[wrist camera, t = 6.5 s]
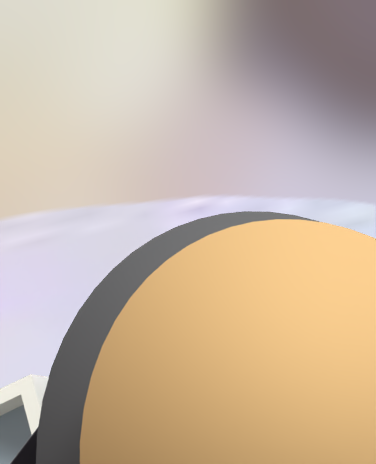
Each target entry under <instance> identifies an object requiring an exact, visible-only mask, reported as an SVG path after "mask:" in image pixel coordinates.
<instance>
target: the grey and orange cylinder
mask: <svg viewBox="0 0 376 464" xmlns="http://www.w3.org/2000/svg"><path fill="white" fill-rule="evenodd" d="M36 464H376V239H375V238H373V237H370V236H367V235H365V234H362V233H359V232H356V231H354V230H351V229H348V228H344V227H340V226H336V225H332V224H328V223H323V222H319V221H315V220H311V219H307V218H303V217H299V216H295V215H289V214H281V213H274V212H236V213H226V214H219V215H215V216H210V217H206V218H201V219H197V220H195V221H192V222H189V223H186V224H183V225H181V226H178V227H175V228H173V229H171V230H169V231H167V232H165V233H163V234H161V235H159V236H157V237H155V238H153V239H152V240H150V241H149V242H147V243H146V244H144V245H143V246H141V247H140V248H138V249H137V250H135V251H134V252H132V253H131V254H130V255H129V256H128V257H126V258H125V259H124V260H123V261H122V262H121V263H119V264H118V265H117V266H116V267H115V268H114V269H113V270H112V271H111V272H110V273H109V274H108V275H107V276H106V277H105V278H104V279H103V280H102V282H101V283H100V284H99V285H98V286H97V287H96V288H95V289H94V291H93V292H92V293H91V295H90V296H89V298H88V299H87V300H86V302H85V303H84V304H83V306H82V307H81V309H80V310H79V311H78V313H77V315H76V317H75V318H74V320H73V322H72V324H71V326H70V328H69V329H68V331H67V333H66V335H65V337H64V338H63V341H62V343H61V346H60V348H59V351H58V353H57V356H56V358H55V360H54V363H53V365H52V368H51V371H50V375H49V379H48V382H47V386H46V389H45V393H44V396H43V400H42V407H41V413H40V419H39V426H38V432H37V448H36Z"/></svg>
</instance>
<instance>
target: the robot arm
mask: <svg viewBox="0 0 376 464" xmlns="http://www.w3.org/2000/svg"><path fill="white" fill-rule="evenodd" d="M37 432H38V428H37V429H36V430H35V432H34V433H33V434H32V435H31V437H30V438H29V439H28V441H27V442H26V443H25V445H24V446H23V447H22V449H21V450H20V451H19V453H18V454H17V455H16V456H15V458H14V459H13V460H12V462H11V463H10V464H36V448H37Z"/></svg>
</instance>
